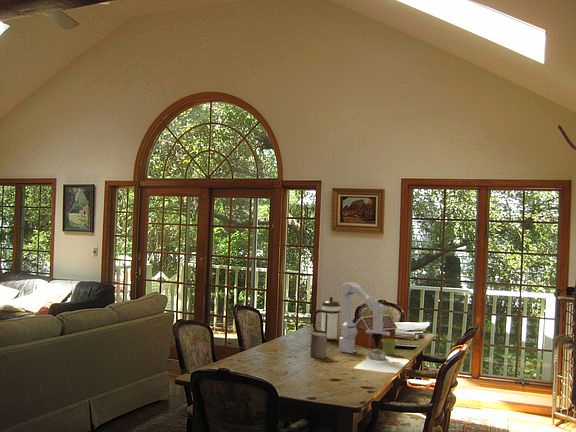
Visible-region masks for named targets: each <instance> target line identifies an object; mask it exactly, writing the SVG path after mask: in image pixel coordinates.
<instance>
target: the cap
mask: <svg viewBox="0 0 576 432" xmlns="http://www.w3.org/2000/svg"><path fill="white" fill-rule="evenodd" d="M371 351H372V353H377V354H380V353H382V352H383V350H382V349H379V348H377V349H375V348H374V349H372V350H371Z"/></svg>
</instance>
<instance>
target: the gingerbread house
mask: <svg viewBox="0 0 576 432" xmlns="http://www.w3.org/2000/svg"><path fill="white" fill-rule="evenodd" d="M373 317H374V316H373V315H367V316H361V317H360V318H358V320H357V321H356V322H355V323H354V324H355V326H356V329H357V335H356V336H355V342H354V345H357V346H361V347H364V348H369V349H371V348H381V347H382V348H383V343H382V339H393V340H396V330H398V326H397V325H396V323H395V320H394V319H393V318H392V316H391V315H390V314H383V328H382V331H385V332H390V335H389V336H387V335H382V337H381V340H380V342H379V346H378V347H377V346H375V341H374V338H373V336H372V335H373V334H371V333H366V330H373ZM379 334H380V333H379Z"/></svg>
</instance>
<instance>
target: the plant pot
mask: <svg viewBox="0 0 576 432" xmlns="http://www.w3.org/2000/svg"><path fill="white" fill-rule="evenodd" d="M382 343H383V347H382V349H383V350H382V352H385V353H386V354H385V356H387V355H388V356H391V355H394V353H395V346H396V343H397V340H396V339H395V340H393V339H382Z"/></svg>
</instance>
